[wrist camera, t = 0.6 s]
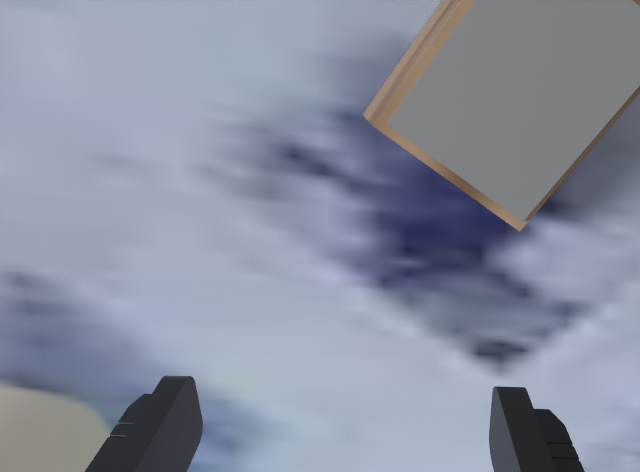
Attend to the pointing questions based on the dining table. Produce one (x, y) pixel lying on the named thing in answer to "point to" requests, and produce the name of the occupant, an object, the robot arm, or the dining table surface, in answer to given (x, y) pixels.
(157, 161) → the dining table surface
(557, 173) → the walnut stand
